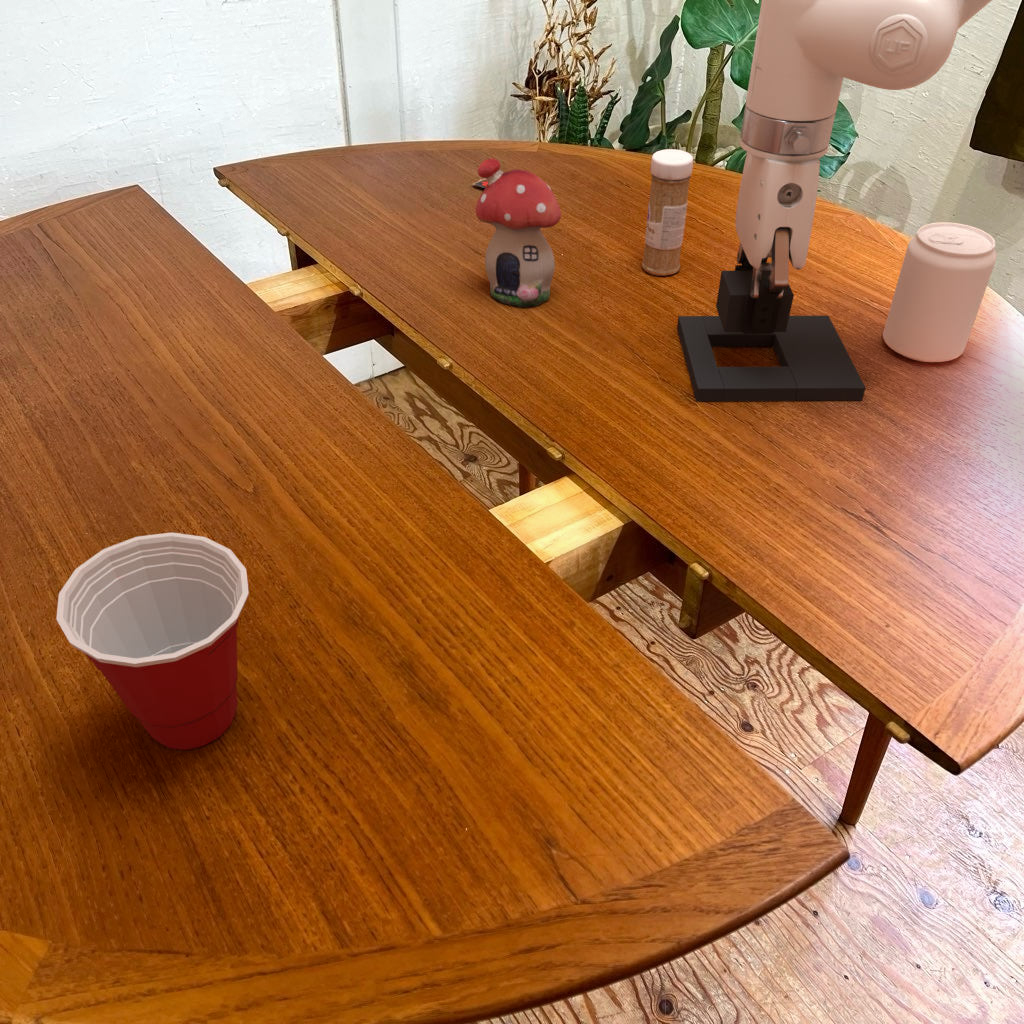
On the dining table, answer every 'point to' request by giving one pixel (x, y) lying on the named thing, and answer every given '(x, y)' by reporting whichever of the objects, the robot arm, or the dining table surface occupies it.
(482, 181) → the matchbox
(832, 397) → the base pad
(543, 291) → the decorative ornament
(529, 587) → the dining table surface
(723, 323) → the small black block
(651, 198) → the sprinkles bottle
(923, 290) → the beverage can
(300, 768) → the dining table surface
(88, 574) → the plastic cup
